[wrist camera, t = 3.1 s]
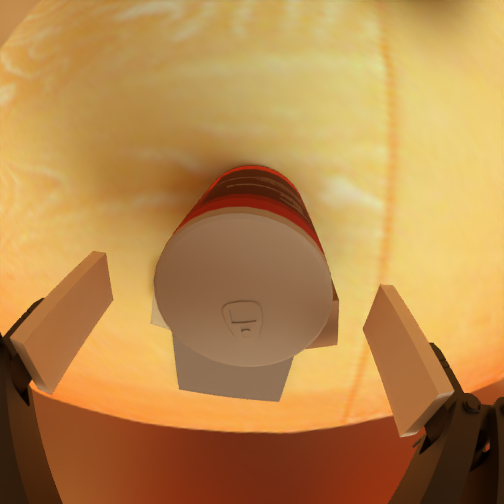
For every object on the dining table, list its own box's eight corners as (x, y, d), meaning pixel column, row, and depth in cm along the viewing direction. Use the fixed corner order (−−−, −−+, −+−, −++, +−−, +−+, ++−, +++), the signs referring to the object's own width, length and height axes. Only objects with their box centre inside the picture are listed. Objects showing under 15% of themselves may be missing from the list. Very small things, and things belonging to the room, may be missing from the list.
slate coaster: (173, 309, 26) (170, 314, 25) (300, 325, 26) (301, 330, 25) (180, 384, 31) (179, 389, 30) (278, 396, 31) (279, 401, 30)
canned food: (230, 274, 24) (207, 380, 14) (185, 188, 21) (117, 256, 11) (318, 243, 22) (352, 343, 12) (281, 147, 19) (297, 179, 9)
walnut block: (274, 274, 24) (275, 307, 20) (327, 268, 23) (338, 300, 19) (279, 316, 26) (281, 351, 22) (328, 310, 25) (337, 344, 21)
